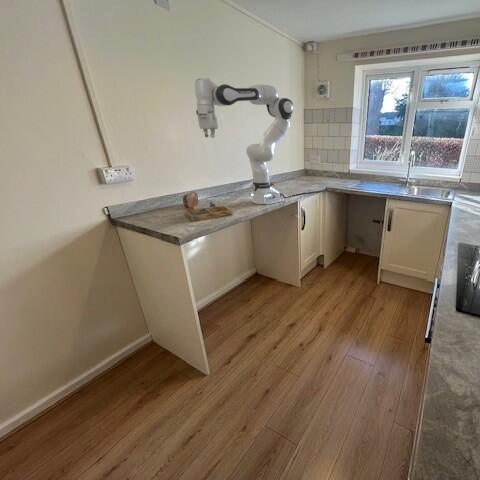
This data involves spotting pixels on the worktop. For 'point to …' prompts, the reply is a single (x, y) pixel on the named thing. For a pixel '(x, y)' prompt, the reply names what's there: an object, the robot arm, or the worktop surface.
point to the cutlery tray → (208, 213)
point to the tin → (190, 199)
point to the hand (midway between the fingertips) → (209, 137)
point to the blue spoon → (212, 204)
